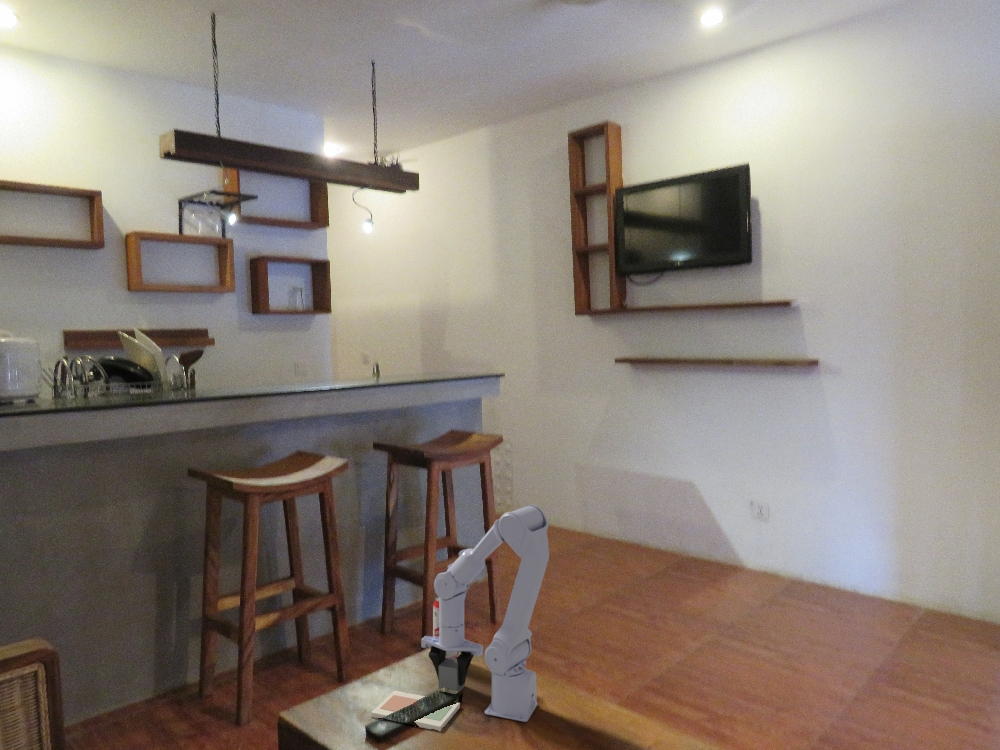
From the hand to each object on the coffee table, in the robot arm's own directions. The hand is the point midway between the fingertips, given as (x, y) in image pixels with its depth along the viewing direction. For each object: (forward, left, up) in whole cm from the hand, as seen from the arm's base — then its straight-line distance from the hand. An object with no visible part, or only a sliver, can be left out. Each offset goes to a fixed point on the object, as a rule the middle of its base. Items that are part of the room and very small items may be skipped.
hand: (451, 681), depth 158 cm
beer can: (+7, -12, -2) cm, 14 cm away
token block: (0, 0, -2) cm, 2 cm away
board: (+3, +12, -2) cm, 12 cm away
